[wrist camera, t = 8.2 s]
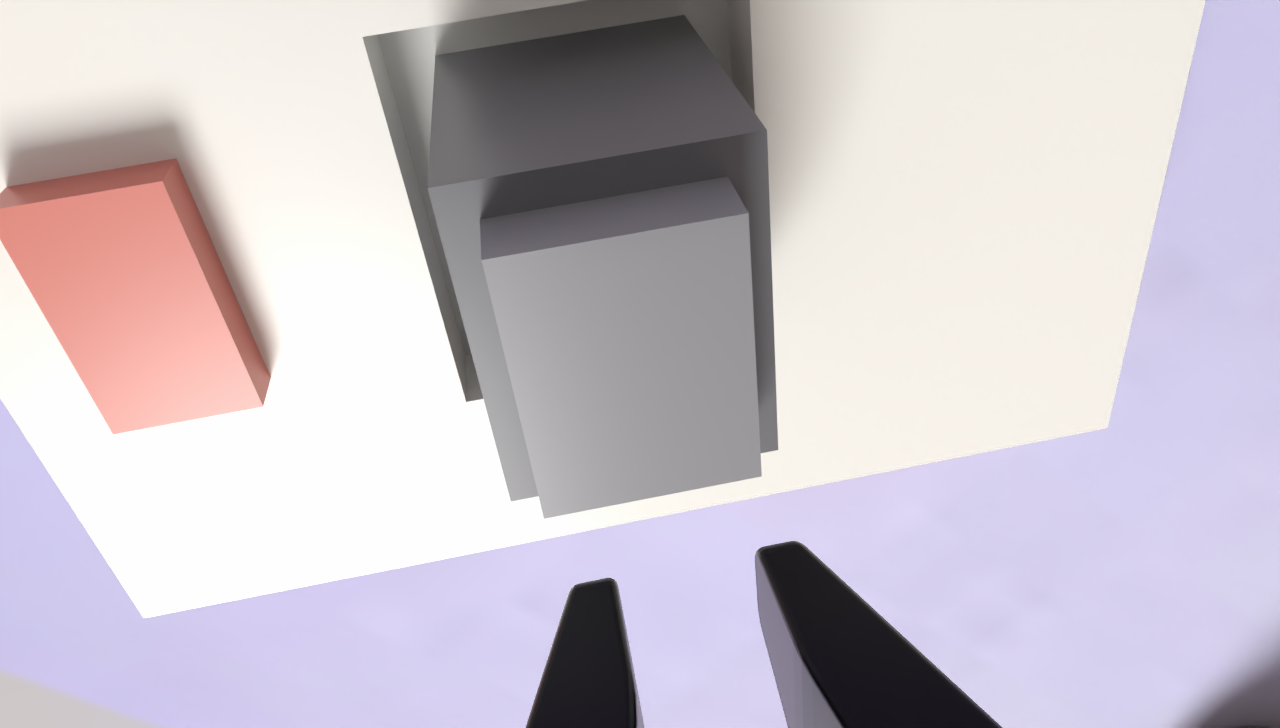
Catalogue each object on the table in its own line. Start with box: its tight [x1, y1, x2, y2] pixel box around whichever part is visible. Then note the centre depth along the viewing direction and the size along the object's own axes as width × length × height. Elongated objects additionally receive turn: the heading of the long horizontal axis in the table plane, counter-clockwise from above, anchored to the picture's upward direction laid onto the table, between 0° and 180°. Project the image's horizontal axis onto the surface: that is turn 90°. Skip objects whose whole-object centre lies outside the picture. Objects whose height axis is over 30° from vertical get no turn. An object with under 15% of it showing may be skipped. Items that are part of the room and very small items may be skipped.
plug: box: [427, 15, 778, 519], centre depth 14 cm, size 4×5×6 cm
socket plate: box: [0, 0, 1206, 618], centre depth 16 cm, size 20×14×4 cm
